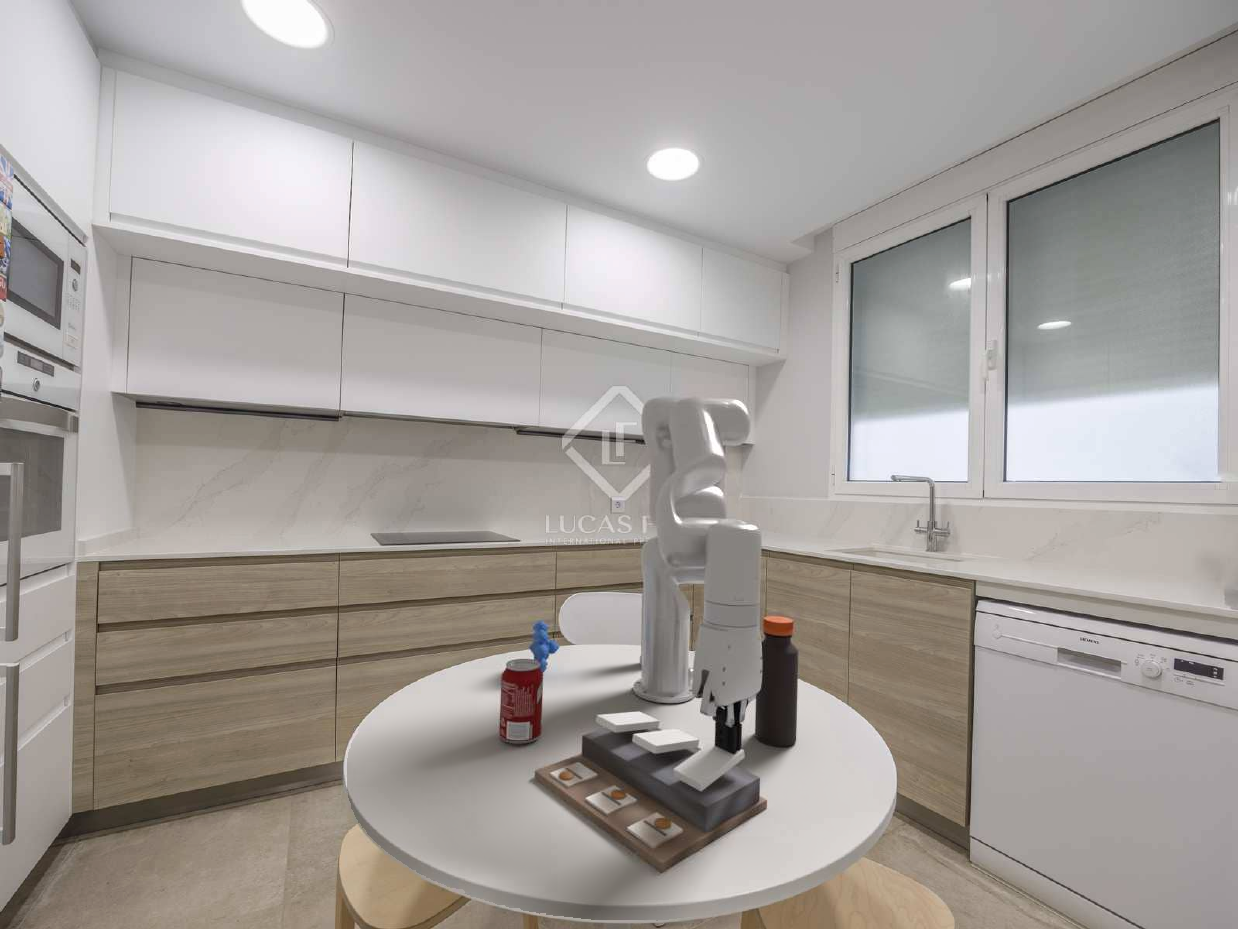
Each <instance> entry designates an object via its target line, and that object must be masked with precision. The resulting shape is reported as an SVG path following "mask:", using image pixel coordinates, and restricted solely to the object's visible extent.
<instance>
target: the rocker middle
mask: <svg viewBox="0 0 1238 929" xmlns="http://www.w3.org/2000/svg"><path fill="white" fill-rule="evenodd" d="M661 730H662V731H654V732H645V733H637V734H633V739H632V742H634V743H636V744H638V745H640V746H641V747H643V748H645V749H647V750H649V751H651V752H653V753H655V754H657V753H663V752H670V751H676V750H682V749H688V748H695V747H698V748H699V743H700V739H699V738H696V737H694V736H692V735H691V734H688V733H686V732H684V731H682V730H679V729H677V728H672V729H665V730H663V729H661Z"/></svg>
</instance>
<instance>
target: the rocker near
mask: <svg viewBox="0 0 1238 929" xmlns="http://www.w3.org/2000/svg"><path fill="white" fill-rule="evenodd" d="M700 749H701V750H700V751H698V752H697V753H695V754H694V755H693V756H691V757H690V758H688V759H687V760H686V761H684V762H683V763H681V764H680V765H678V766H677V767H676V768H674V769H673V771H674V777H676V778H678V779H679V780H681V781H683V782H685V783H687V784H688V785H690V786H692V787H694V788H696V789H697V790H699V791H702V790H704V789H705V788H706V787H708V786H709V785H710V784H711V783H713V782H714V781H715V780H716V779H718V778H719V777H720V776H722V775H723V774H724V773H725V772H727V771H728V770H729V769H731V768H732V767H733V766H734V765H735V766H737V764H738V763H739V762H741V761H742V760H743V759H745V755H746V754H745V750H744V749H742V748H741V750H738V751H736V754H734V755H733V754H731V753H729V752H727V751H725V750H723V749H721V748H719V747H716V746H715V739H714V740H712V741H711V742H710V743H708V744H707V745H706V746H703V747H702V748H700Z"/></svg>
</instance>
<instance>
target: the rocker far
mask: <svg viewBox="0 0 1238 929" xmlns="http://www.w3.org/2000/svg"><path fill="white" fill-rule="evenodd" d="M595 723H596V724H598V725H601V726H603V728H605V727H606V728H608V729H610V730H612V731H613V732H615V733H617V732H625V731H634V730H642V729H651V728H659V725H660V720H658V719H657V718H655V717H653V716H650V715H648V714H646V713H644V712H641V711H630V712H629V711H627V712H618V713H617V712H616V713H615V712H614V713H607V714H604V713H603V714H596V718H595Z"/></svg>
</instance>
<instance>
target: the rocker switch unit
mask: <svg viewBox="0 0 1238 929" xmlns="http://www.w3.org/2000/svg"><path fill="white" fill-rule="evenodd" d="M662 730H663V729H661V728H659V727H658V728H651V729H642V730H634V731H625V732H617V733H615V732H613V731H612V730H610V729H608V728H606V727H602V728H600V729H596V730H594V731H591V732H587V733H585V734H582V736H581V753H579V754H577V755H573V756H570V757H569V758H566V759H562V760H560V761H557V762H554V763H552V764H549V765H547V766H544V767H541V768H539V769H538V768H537V769H535V770H534V778H535V780H537V781H538V782H540V783H541V784H542V785H544V786H545V787H546V788H547V789H549V790H551V791H552V792H553V793H555V795H557V796H559V798H560V799H563V800H564V801H565V802H566V803H567V804H569V805H570V806H572V807H573V808H574V809H576V810H577V811H578V812H580V813H582V814H583V815H584V816H585V817H586V818H587V819H589V820H591V821H592V822H593V823H595V825H597V826H599V827H600V828H601V829H602V830H604V831H605V832H607V833H608V834H610V835H611V836H612V837H613V838H614V839H616V840H617V841H618V842H620V843H621V844H623V845H624V846H625V847H626V848H628V849H629V850H631V851H632V852H633V853H635V854H636V855H637V856H638V857H639V858H641V859H642V860H643V861H645V862H647V863H648V864H649V865H651V866H652V867H653V868H655V869H656V870H657V871H659V873H664V872H665V871H667V870H668V869H670V868H671V867H673V866H675V865H676V864H677V863H679V862H681V861H683V860H684V859H686V858H688V857H689V856H691V855H692V854H694V853H696V852H698V851H699V850H701V849H702V848H704V847H706V846H708V845H709V844H711V843H712V842H713V841H716V839H718V838H720V837H722V836H723V835H725V834H727V833H728V832H729V831H732V830H734V829H735V828H736V827H738V826H739V825H741V824H743V823H744V822H746V821H748V820H749V819H751V818H752V817H754V816H755V815H757V814H759V813H761V812H762V811H764V810H765V809H767V808H768V799H766V798H764V797H762V796H761V794H760V793H761V792H760V790H761V789H760V787H761V777H760V776H757V775H755V774H754V773H751V772H750V771H747V770H745V769H743V768H741V767H739V766H737V765H734V766H733V767H732V768H731V769H729V770H728V771H727V772H725V773H724V774H723V775H722V776H720V777H719V778H718V779H716V780H715V781H714V782H713V783H711V784H710V785H709V786H708V787H706V788H705V789H704V790H702V791H699V790H697V789H696V788H694V787H692V786H690V785H688V784H687V783H685V782H683V781H681V780H679V779H678V778H676V777H674V771H673V769H674V768H676V767H677V766H678V765H680V764H681V763H683V762H684V761H686V760H687V759H688V758H690V757H691V756H693V755H694V754H695V753H697V752H698V751H700V750H701V749H702V748H700V747H699V746H698V747H695V748H688V749H682V750H676V751H670V752H663V753H657V754H655V753H653V752H651V751H649V750H647V749H645V748H643V747H641V746H640V745H638V744H636V743H634V742H632V739H633V734H637V733H645V732H654V731H662Z"/></svg>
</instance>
